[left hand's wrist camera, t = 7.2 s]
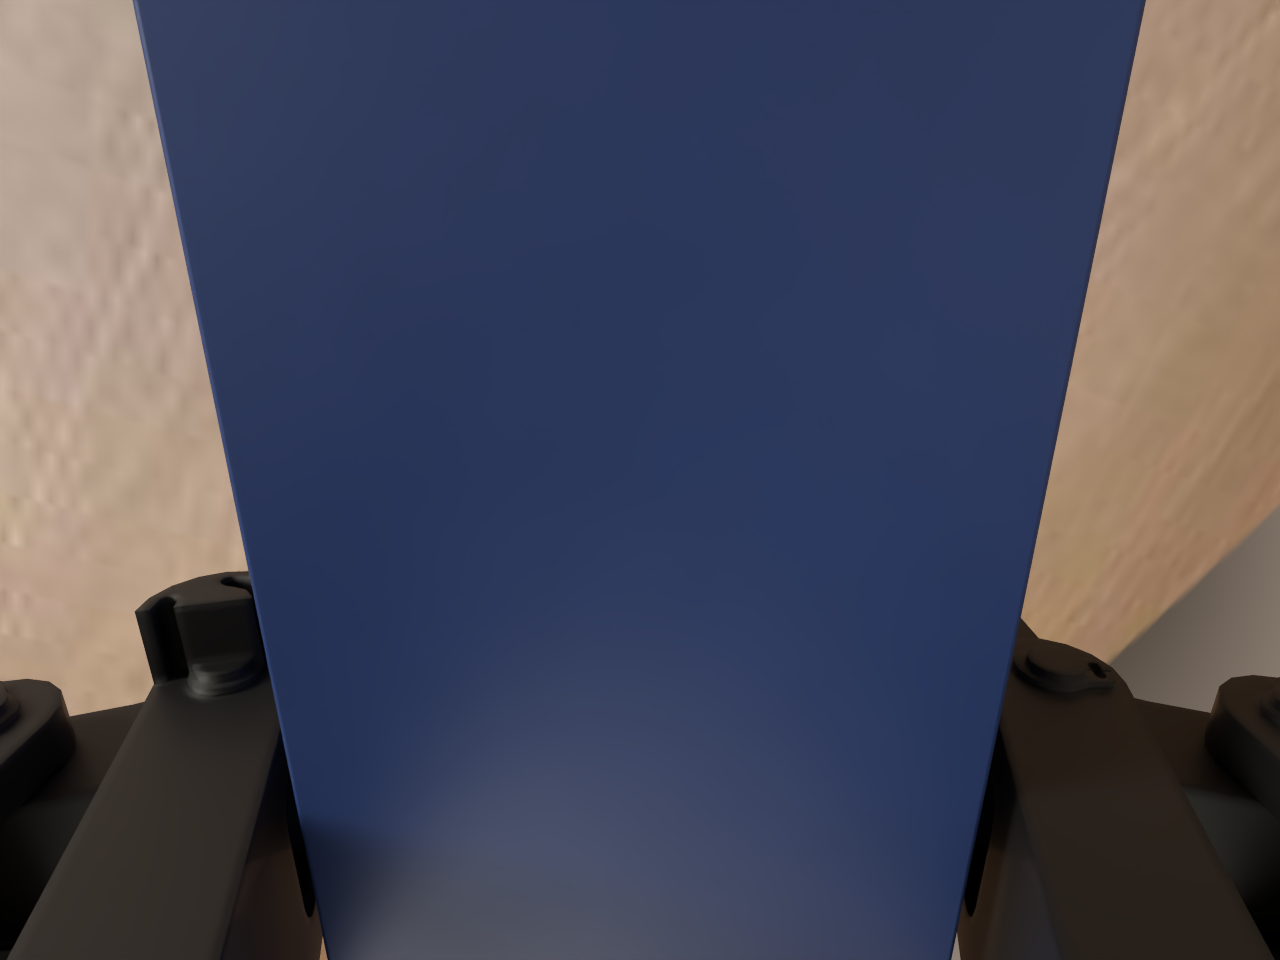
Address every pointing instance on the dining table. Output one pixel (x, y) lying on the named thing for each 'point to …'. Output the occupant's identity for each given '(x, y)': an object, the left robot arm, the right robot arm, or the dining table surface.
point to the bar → (639, 441)
